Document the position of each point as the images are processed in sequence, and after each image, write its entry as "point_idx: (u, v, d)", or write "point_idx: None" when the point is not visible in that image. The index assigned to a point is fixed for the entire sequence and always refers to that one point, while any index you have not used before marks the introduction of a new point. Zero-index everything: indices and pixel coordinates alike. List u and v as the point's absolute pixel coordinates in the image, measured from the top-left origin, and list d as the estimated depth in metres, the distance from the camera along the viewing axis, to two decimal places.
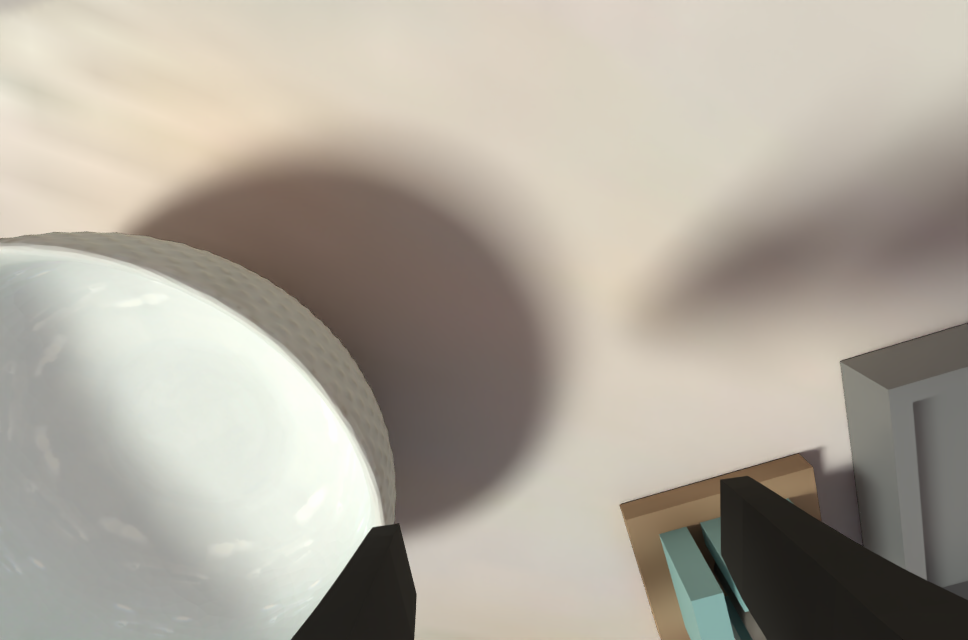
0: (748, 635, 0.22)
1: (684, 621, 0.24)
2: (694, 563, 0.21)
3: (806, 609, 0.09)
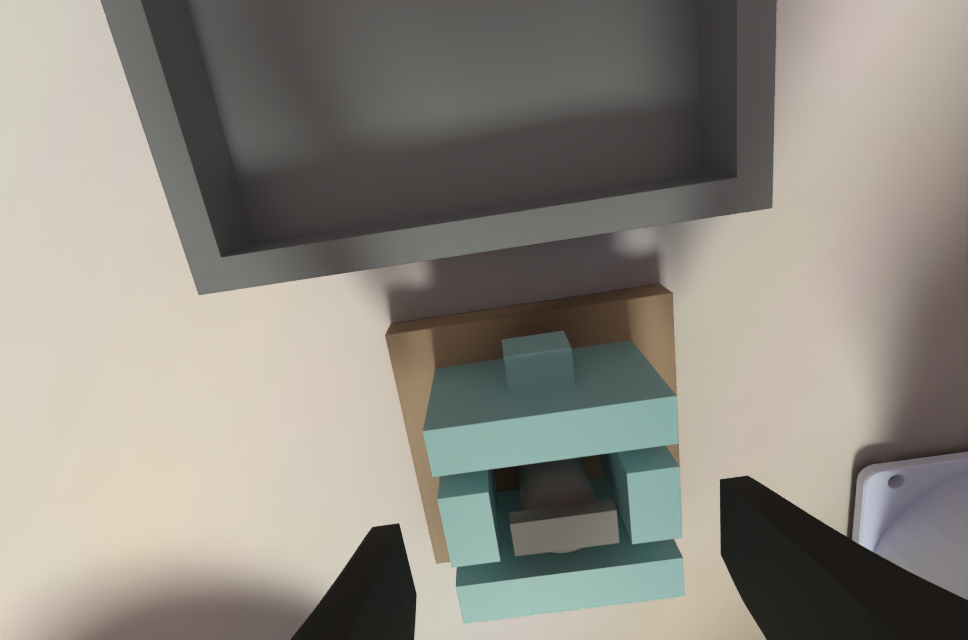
0: (615, 493, 0.14)
1: None
2: None
3: (806, 609, 0.09)
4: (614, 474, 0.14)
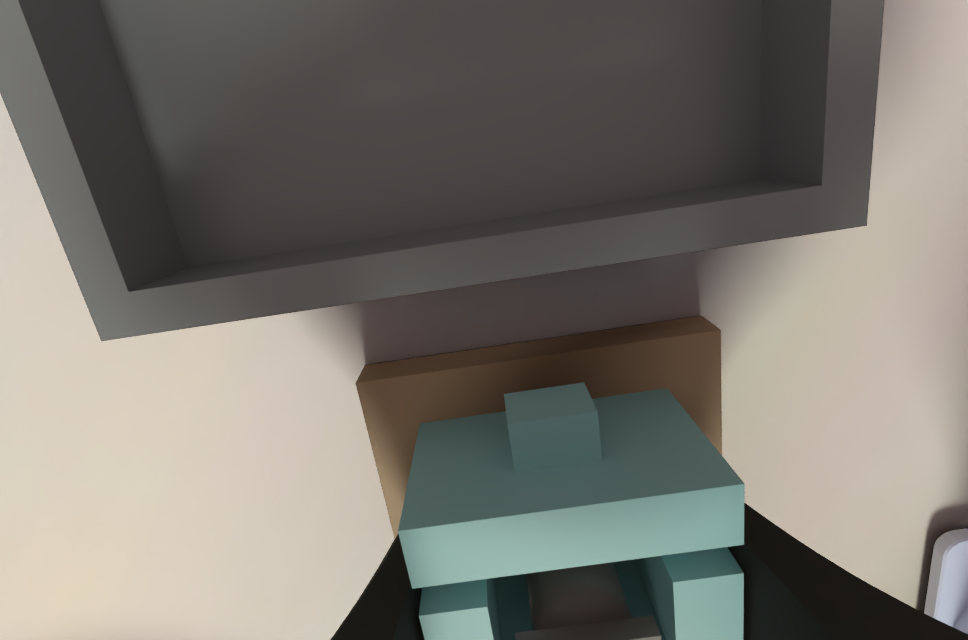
0: (650, 588, 0.11)
1: None
2: None
3: (761, 614, 0.09)
4: (649, 566, 0.10)
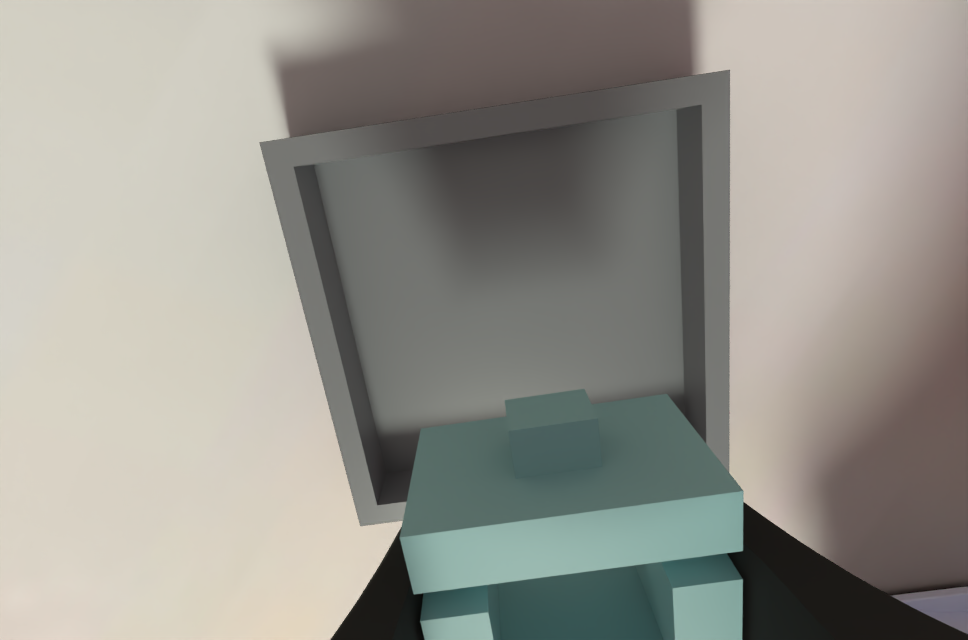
0: (649, 593, 0.11)
1: None
2: None
3: (761, 614, 0.09)
4: (649, 571, 0.11)
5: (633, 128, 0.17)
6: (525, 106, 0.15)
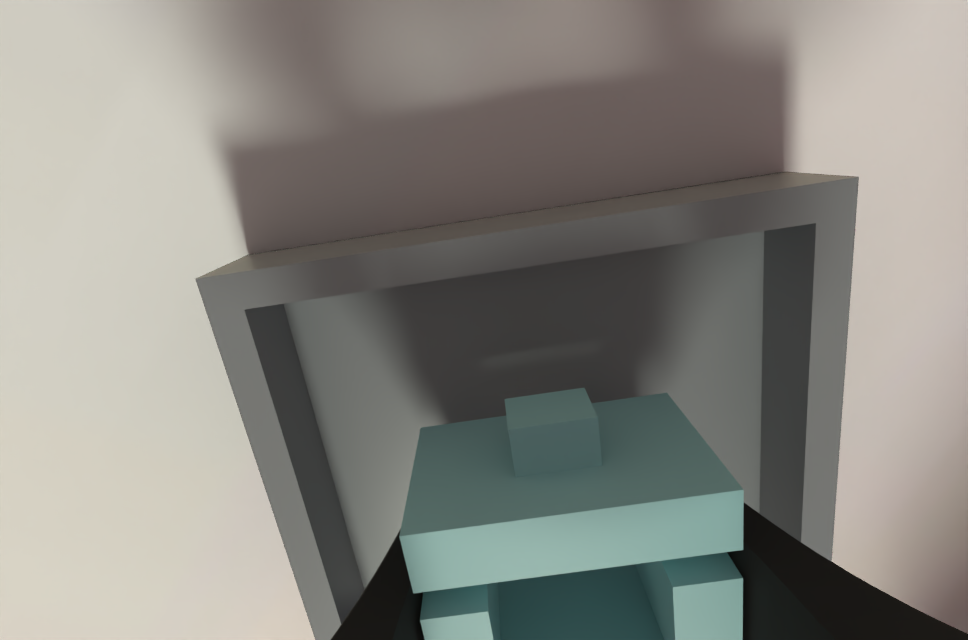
0: (649, 592, 0.11)
1: None
2: None
3: (761, 614, 0.09)
4: (649, 570, 0.11)
5: None
6: (568, 228, 0.11)
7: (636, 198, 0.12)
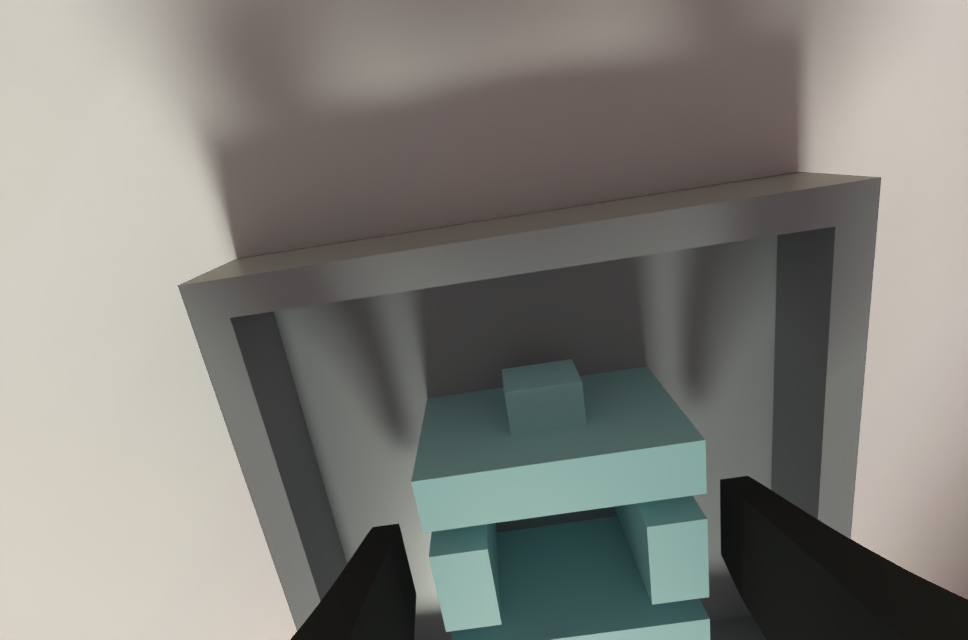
0: (630, 541, 0.12)
1: None
2: None
3: (806, 609, 0.09)
4: (629, 520, 0.12)
5: None
6: (573, 231, 0.10)
7: (643, 200, 0.12)
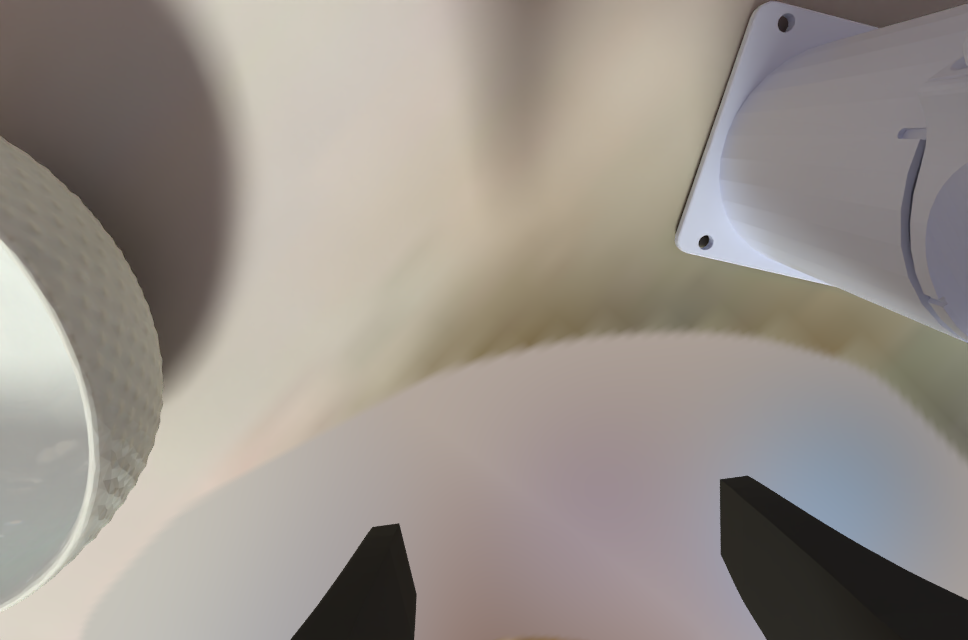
0: None
1: None
2: None
3: (806, 609, 0.09)
4: None
5: None
6: None
7: None
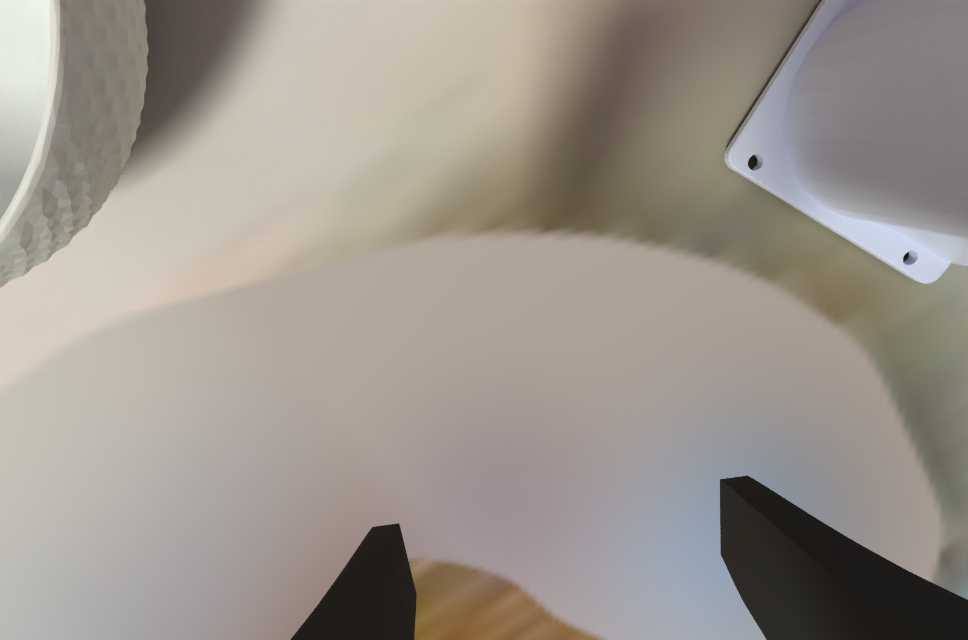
0: None
1: None
2: None
3: (806, 608, 0.09)
4: None
5: None
6: None
7: None
